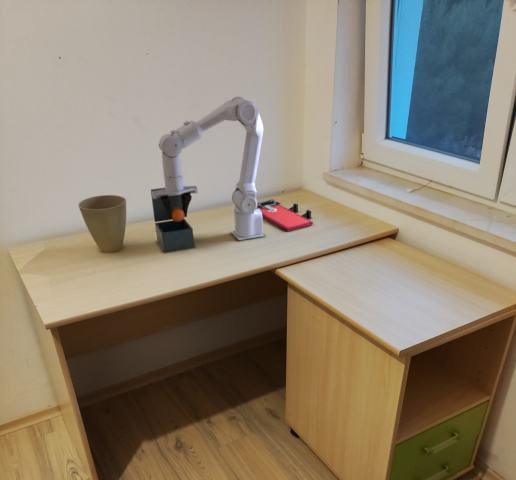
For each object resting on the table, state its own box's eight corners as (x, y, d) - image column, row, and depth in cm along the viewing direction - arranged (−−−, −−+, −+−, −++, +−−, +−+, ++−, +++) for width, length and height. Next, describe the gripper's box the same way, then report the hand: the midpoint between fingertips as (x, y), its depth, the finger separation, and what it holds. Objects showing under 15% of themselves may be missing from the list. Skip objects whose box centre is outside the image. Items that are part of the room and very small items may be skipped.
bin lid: (182, 186, 167) (181, 185, 168) (151, 190, 164) (150, 189, 165) (184, 217, 174) (183, 216, 175) (154, 222, 171) (154, 221, 172)
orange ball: (183, 217, 170) (181, 203, 167) (187, 222, 166) (185, 208, 164) (169, 219, 169) (167, 205, 166) (172, 224, 165) (171, 210, 162)
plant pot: (139, 240, 176) (132, 195, 167) (123, 258, 164) (115, 210, 155) (99, 238, 178) (90, 193, 169) (80, 255, 166) (70, 208, 157)
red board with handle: (276, 200, 209) (245, 208, 202) (276, 193, 207) (244, 201, 201) (320, 223, 188) (287, 232, 182) (321, 216, 186) (287, 225, 180)
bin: (194, 247, 171) (192, 228, 167) (164, 252, 167) (161, 233, 164) (186, 236, 179) (184, 218, 175) (157, 241, 175) (154, 222, 172)
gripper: (153, 181, 154) (158, 224, 161) (198, 176, 158) (201, 217, 166) (148, 175, 159) (153, 217, 167) (192, 170, 164) (195, 211, 171)
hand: (177, 217), depth 167 cm, fingers closed on orange ball, 4 cm apart
